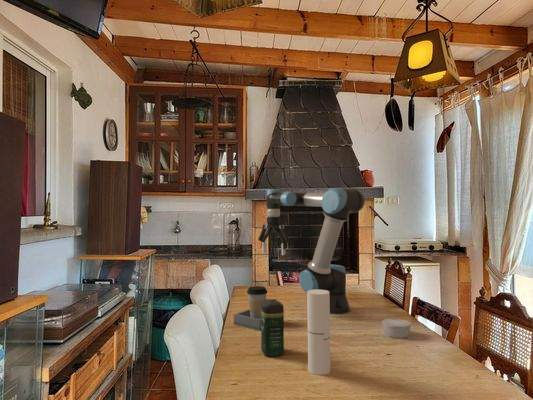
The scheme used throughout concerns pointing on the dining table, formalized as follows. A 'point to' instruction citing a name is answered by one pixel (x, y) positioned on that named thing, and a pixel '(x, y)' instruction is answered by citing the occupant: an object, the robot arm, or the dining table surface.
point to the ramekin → (396, 328)
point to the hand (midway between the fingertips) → (273, 254)
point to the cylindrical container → (318, 331)
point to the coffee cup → (256, 300)
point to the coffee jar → (272, 327)
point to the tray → (247, 320)
